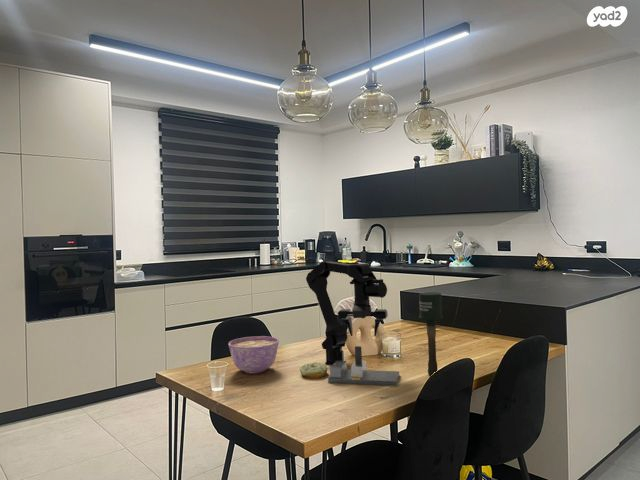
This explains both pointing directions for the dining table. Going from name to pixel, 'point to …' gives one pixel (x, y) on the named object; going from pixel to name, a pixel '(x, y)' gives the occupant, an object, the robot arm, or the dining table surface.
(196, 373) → the dining table surface
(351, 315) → the robot arm
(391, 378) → the base
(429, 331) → the stick grenade
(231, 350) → the bowl of food
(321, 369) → the decorated donut
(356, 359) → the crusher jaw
